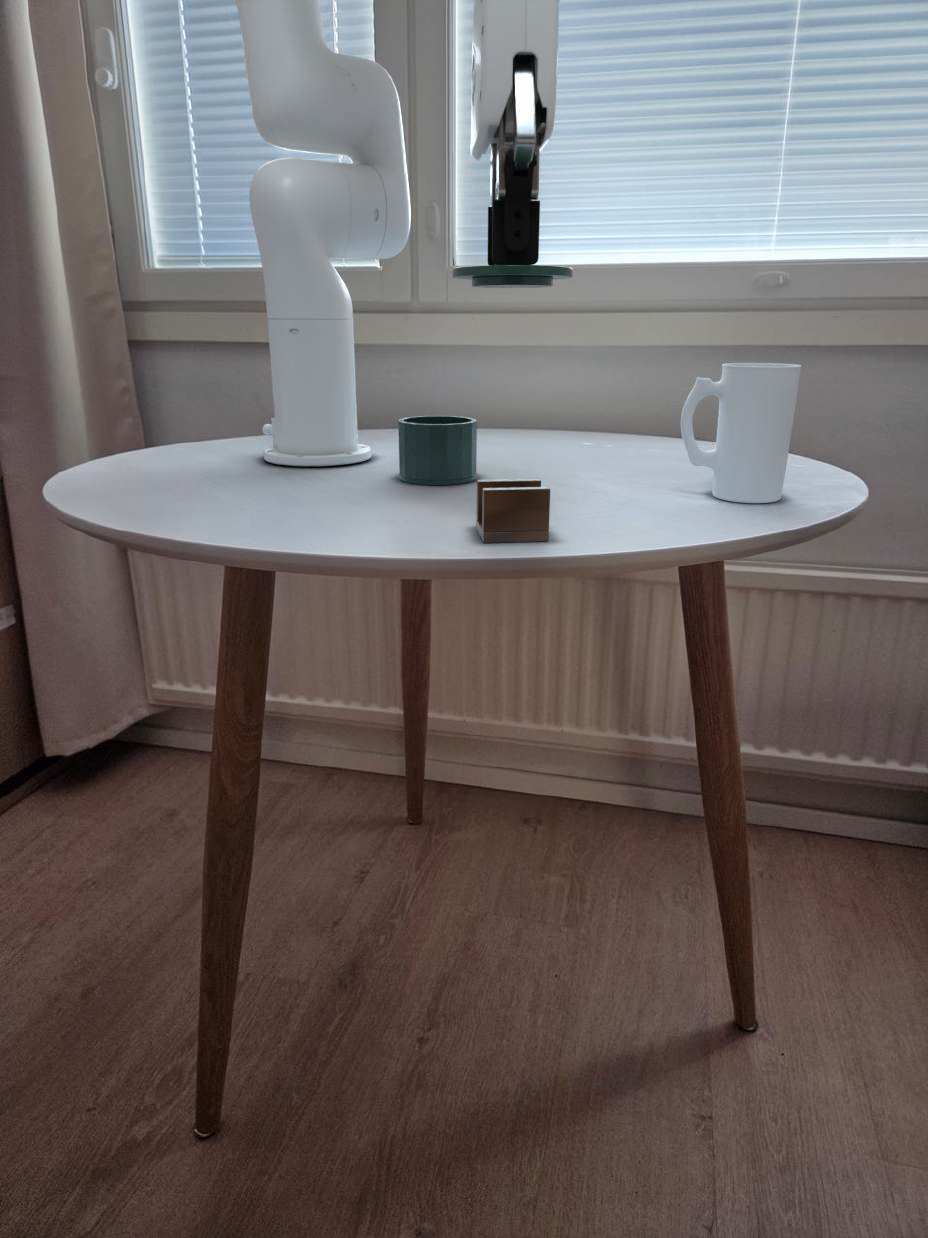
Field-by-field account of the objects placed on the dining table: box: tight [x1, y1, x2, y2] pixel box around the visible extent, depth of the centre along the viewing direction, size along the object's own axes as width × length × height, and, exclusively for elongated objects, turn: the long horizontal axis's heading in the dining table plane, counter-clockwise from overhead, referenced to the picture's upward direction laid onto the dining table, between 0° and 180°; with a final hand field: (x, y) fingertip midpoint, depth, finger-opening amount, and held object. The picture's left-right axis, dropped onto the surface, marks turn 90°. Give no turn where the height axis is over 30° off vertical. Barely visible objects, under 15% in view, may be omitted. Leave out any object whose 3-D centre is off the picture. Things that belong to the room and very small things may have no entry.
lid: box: [452, 183, 574, 289], centre depth 60 cm, size 9×9×7 cm
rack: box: [475, 478, 551, 544], centre depth 65 cm, size 5×4×4 cm
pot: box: [397, 415, 478, 486], centre depth 88 cm, size 8×8×6 cm
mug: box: [680, 362, 802, 504], centre depth 78 cm, size 10×7×12 cm, turn 84°
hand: (512, 263), depth 60 cm, fingers closed on lid, 2 cm apart
